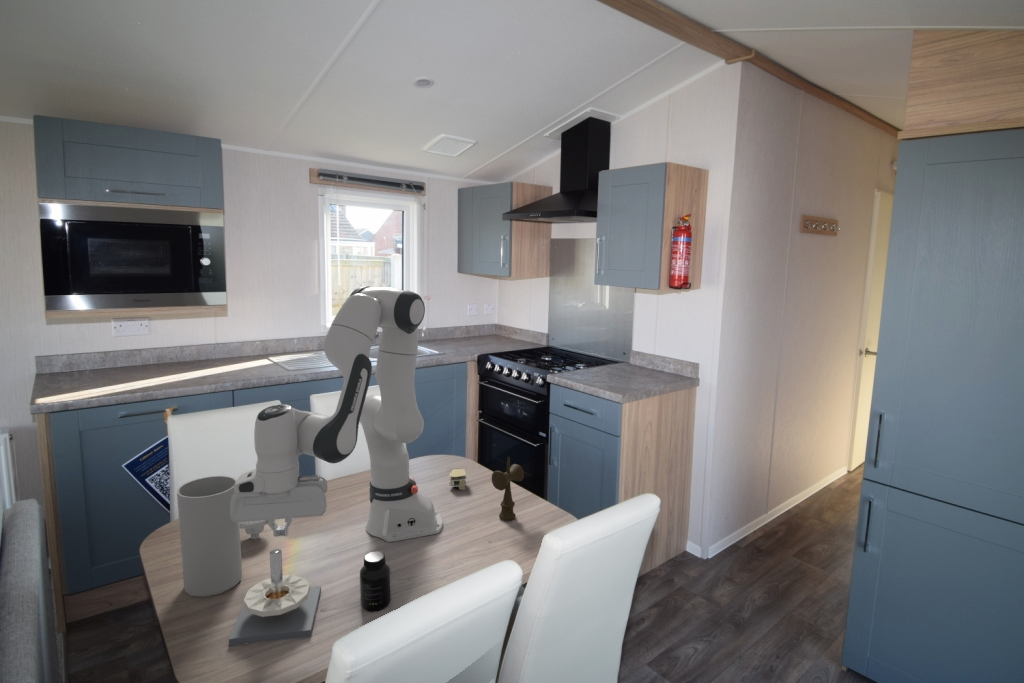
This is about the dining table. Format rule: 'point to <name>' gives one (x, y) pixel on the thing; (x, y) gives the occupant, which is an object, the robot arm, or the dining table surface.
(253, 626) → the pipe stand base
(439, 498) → the dining table surface
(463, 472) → the beige blocky piece
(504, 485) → the kendama
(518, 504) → the dining table surface
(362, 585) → the supplement bottle
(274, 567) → the silver and orange rod
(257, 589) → the silicone ring
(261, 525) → the showerhead
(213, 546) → the cylinder vase
